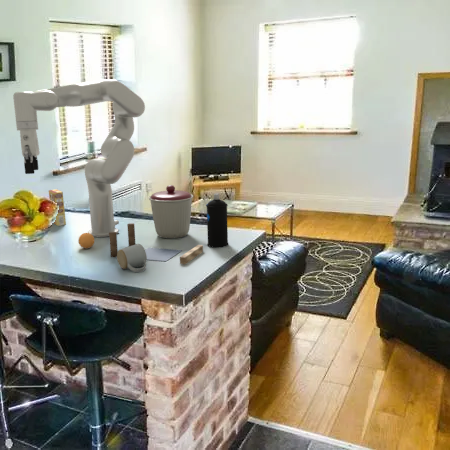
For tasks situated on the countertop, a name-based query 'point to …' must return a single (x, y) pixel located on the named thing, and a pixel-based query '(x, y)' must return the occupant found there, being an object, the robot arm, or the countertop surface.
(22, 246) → the countertop surface
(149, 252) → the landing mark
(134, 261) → the ceramic mug
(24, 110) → the robot arm
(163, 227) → the canister
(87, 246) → the ball
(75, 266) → the countertop surface
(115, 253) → the post
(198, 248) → the wall
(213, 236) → the aerosol can
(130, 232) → the post
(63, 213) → the candy box
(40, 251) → the countertop surface
